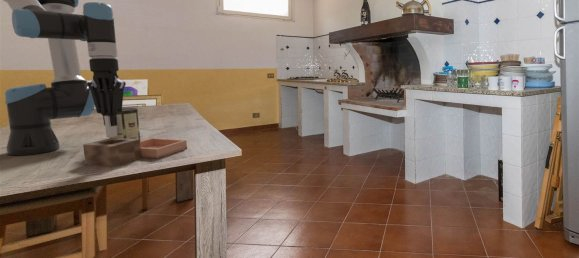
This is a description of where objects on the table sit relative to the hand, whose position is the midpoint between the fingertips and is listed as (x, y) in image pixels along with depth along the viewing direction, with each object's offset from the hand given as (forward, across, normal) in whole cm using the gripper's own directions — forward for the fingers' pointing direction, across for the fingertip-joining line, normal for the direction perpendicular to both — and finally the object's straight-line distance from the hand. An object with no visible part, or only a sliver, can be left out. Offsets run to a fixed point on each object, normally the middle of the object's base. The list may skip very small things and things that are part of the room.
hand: (112, 136), depth 105 cm
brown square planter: (+8, 0, 0) cm, 8 cm away
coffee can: (+8, -11, +16) cm, 21 cm away
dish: (+8, +4, +14) cm, 16 cm away
